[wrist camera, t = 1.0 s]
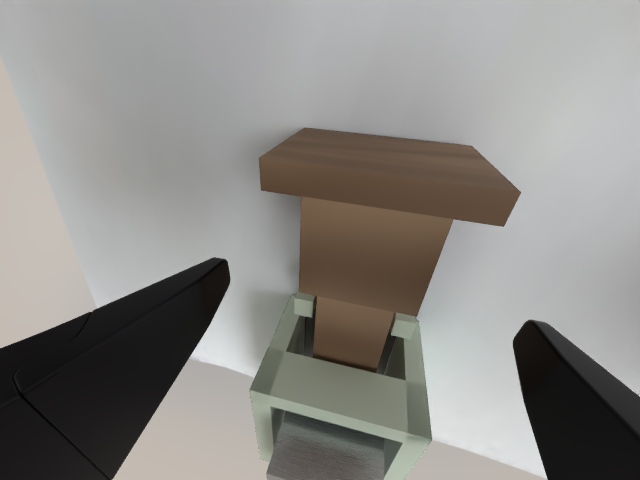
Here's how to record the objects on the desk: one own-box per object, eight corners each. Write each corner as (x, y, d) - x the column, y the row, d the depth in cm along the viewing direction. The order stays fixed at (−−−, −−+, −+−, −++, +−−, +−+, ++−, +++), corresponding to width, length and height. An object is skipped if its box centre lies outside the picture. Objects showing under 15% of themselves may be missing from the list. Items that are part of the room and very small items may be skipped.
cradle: (432, 287, 15) (454, 405, 10) (391, 391, 22) (391, 500, 16) (291, 260, 17) (243, 353, 11) (291, 366, 23) (260, 458, 17)
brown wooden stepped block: (304, 127, 12) (259, 158, 8) (471, 146, 11) (520, 192, 7) (298, 364, 22) (276, 433, 18) (385, 386, 21) (384, 464, 17)
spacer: (385, 389, 15) (383, 510, 11) (370, 429, 18) (364, 538, 14) (299, 367, 16) (266, 473, 12) (297, 409, 18) (270, 507, 14)
